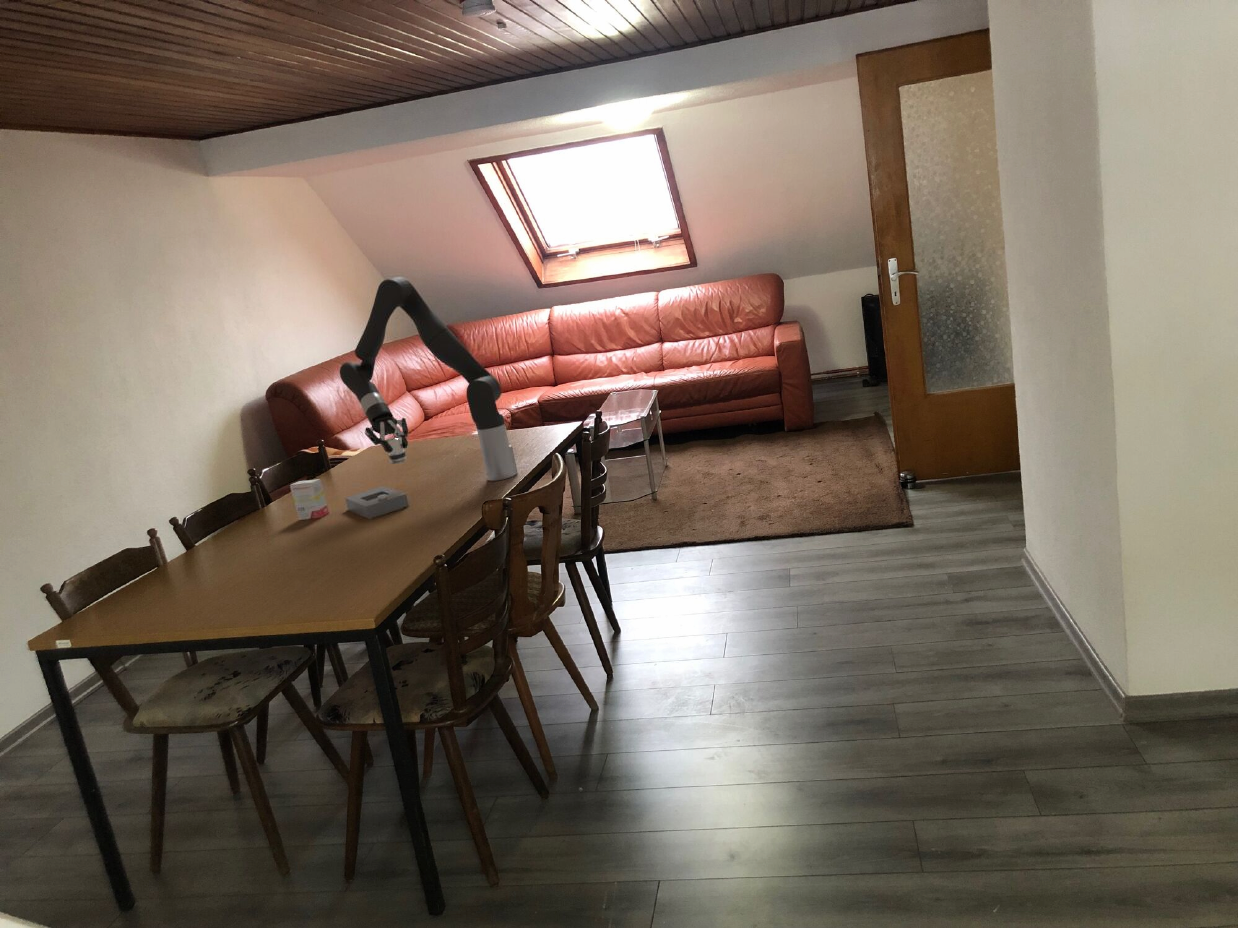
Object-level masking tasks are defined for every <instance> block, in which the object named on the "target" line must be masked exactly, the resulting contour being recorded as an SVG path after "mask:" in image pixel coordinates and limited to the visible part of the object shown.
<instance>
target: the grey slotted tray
mask: <svg viewBox="0 0 1238 928" xmlns="http://www.w3.org/2000/svg"><path fill="white" fill-rule="evenodd" d="M344 500H345V504H346V508H347V510H348V511H350V512H352V513H354V512H355V513H354V514H357V515H359V516H361V517H364V518H366V519H369V520H371V519H374V518H377V517H380V516H383V515H386V514H389V513H393V512H395V511H398V510H401V509H404V507H405V508H408V507H409V506H410V505H409V501H408V498H407V493H405V492H401V491H398V490H395V489H392V488H389V487H387V486H384V485H383V486H379V487H376V488H373V489H369V490H367V491H364V492H363V491H362V492H360V493H356V494H354V495H350V496H347V497H344ZM373 517H374V518H373Z"/></svg>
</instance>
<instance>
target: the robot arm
mask: <svg viewBox="0 0 1238 928" xmlns="http://www.w3.org/2000/svg"><path fill="white" fill-rule="evenodd" d="M397 308H400V309H402V311H403V312H405V313H406V314H407V315H408V317H409V318H410V319H411V321H413V323H414V325H415V327H416V331H417V332H418V334H419V337H420V339H421V341H422V343H423V344H424V346H425V347H426V348H427V349H428V350H429V352H430V353H431V354H432V355H433V356H434V357H435V358H436V359H437V360H438V361H440V362H441V363H442V364H444V365H445V366H447V367H449V368H450V369H452V370H454V371H455V372H457V373H458V374H459V375H461V376H462V378H463V379H464V380H465V382H467V383H468V386H467V387H466V393H465V394H466V399H467V400H466V401H467V404H468V408H469V412H470V416H471V419H472V421H473V423H474V424H475V427H476V432H477V436H478V441H479V445H480V449H481V450H480V451H481V454H482V459H483V463H484V469H485V474H486V478H487V480H488V481H491V482H492V481H493V482H494V481H495V482H496V481H502V480H506V479H510V478H512V477H513V476H515V475H517V474H519V472H518V467H517V462H516V458H515V453H514V448H513V446H512V445H510V442H509V436H508V432H507V427H506V422H505V418H504V415H503V414H502V413H500V412H499V410H498V407H497V401H498V400H499V399H500V398H501V396H502V387H501V385H500V384H501V383H500V382H499V380H498V379H496V377H495V376H493V374H492V373H490V372H489V371H488V370H487V369H486V368H485V367H484V366H483V365H482V364H481V363H480V362H479V361H477V359H476V358H475V357H474V356H473V355H472V354H471V352H470V351H469V350H468V349H467V347H465V346H464V344H462V342H461V341H460V340H459V338H457V336H456V335H455V334H454V333H453V332H452V330H450V328H449V327H448V326H447V325H446V324H445V323H444V322H443V321H442V320H441V319H440V317H438V315H437V314H436V313H435V312H434V311H433V310H432V309H431V308H430V306H428V304H427V303H426V302H425V300H424V299H423V297H422V296H421V294H420V293H419V292H418V291H417V289H416V288H415V286H414V285H413V284H412V282H411V281H410V280H409V279H407V278H405V277H403V276H396V277H395V276H394V277H389V278H386V279H384V280H383V281H381V282H380V284H379V285H378V288H377V290H376V293H375V297H374V301H373V305H372V308H371V310H370V315H369V318H368V320H367V323H366V326H365V328H364V331H362V335H361V337H360V338H359V341H358V343H357V345H356V347H355V350H354V354H355V356H356V358H357V359H359V360H361V362H353V361H347V362H344V363H342V365H341V366H340V368H339V376H340V379H341V381H342V383H343V384H344V385H345V386H346V387H347V389H349V391H350V392H351V393H353V394H354V395H355V396H356V399H357V400H358V402H359V403H360V405H361V408H362V411H363V413H364V415H365V416H366V418H367V420H368V422H369V424H370V427H368V426H367V427H366V428H365V430H364V431H365V432H364V435H365V436H366V437H367V438H368V439H369V440H370V441H371V442H372V443H373V444H374V445H375V446H377V445H381V446H382V449H383V450H384V452H387V454H389V453H390V452H391V448H390V446H389V444H388V443H387V441H386V440H387V439H386V436H387V435H393V436H394V437H402V442H403V446H404V449H407V448H408V446H409V442H408V440H407V437H408V436H409V428H408V424H407V419H406V418H405V417H402V418H401V419H397V418H395V417H394V416H393V413H392V411H391V410H390V408H389V406H388V404H387V402H386V401H385V399H384V397H383V396H382V395H381V393H380V391H379V390H378V388H377V386H376V385H375V384H374V382H372V381H371V380H372V379H373V377H374V371H375V370H374V369H375V365H376V358H377V356H378V354H379V352H380V350H381V349H382V347H383V344H384V340H385V336H386V331H387V330H386V329H387V325H388V322H389V320H390V318H391V316H392V314H393V313H394V312H395V310H396V309H397ZM400 428H401V429H400ZM374 432H375V433H377V434H379V437H378V435H377V434H375V433H374Z"/></svg>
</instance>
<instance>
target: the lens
mask: <svg viewBox="0 0 1238 928" xmlns="http://www.w3.org/2000/svg"><path fill="white" fill-rule="evenodd" d="M385 440H386V441H387V443H388V444H389V446H390V448H391V452H390V453H388V458H389V461H390V463H391V464H392V465H395V464H401V463H403V462H406V461H407V454H406V450H405V448H404V446H403V442H402V437H397V436H394V437H390V438H387V439H385Z"/></svg>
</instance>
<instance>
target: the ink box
mask: <svg viewBox="0 0 1238 928" xmlns="http://www.w3.org/2000/svg"><path fill="white" fill-rule="evenodd" d="M289 487H290V491H291V495H292V499H293V502H294V505H295V506H294V507H295V509H296V513H297V517H298V520H299V521H302V520H312V519H321V518H323V517H325V516H326V515H328V514H329V513H330V512H329V508H328V507H329V506H328V505H327V501H326V496H325V493H324V489H323V486H322V481H321V479H320V478H317V479H309V480H299V481H296V482H294V483H291V484H290V485H289Z"/></svg>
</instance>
